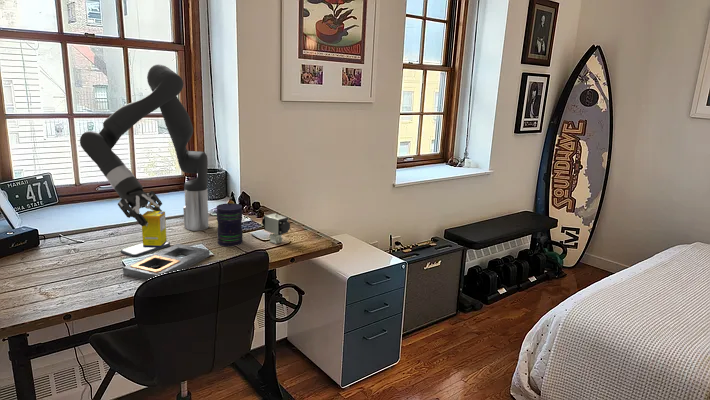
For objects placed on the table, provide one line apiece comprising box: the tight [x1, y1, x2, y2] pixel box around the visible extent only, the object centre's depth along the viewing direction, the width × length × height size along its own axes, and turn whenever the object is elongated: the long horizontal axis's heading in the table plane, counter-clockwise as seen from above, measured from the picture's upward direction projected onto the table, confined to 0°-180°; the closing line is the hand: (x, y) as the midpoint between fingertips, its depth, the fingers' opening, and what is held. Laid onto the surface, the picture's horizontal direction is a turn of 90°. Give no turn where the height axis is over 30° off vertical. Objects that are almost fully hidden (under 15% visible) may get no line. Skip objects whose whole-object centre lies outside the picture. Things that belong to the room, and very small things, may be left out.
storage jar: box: [216, 202, 244, 248], centre depth 191 cm, size 10×10×15 cm
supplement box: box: [141, 210, 168, 248], centre depth 159 cm, size 6×6×11 cm
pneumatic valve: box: [261, 212, 291, 245], centre depth 194 cm, size 6×12×12 cm, turn 53°
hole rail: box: [122, 243, 210, 281], centre depth 168 cm, size 14×26×3 cm, turn 159°
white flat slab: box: [120, 241, 171, 258], centre depth 182 cm, size 9×2×16 cm
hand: (154, 221), depth 158 cm, fingers closed on supplement box, 7 cm apart
